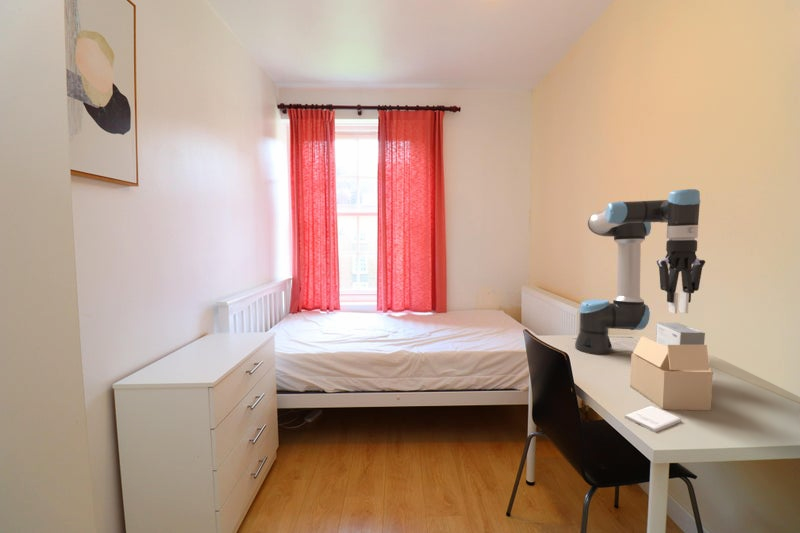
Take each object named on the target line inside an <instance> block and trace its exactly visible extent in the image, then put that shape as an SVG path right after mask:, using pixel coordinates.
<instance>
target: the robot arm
mask: <svg viewBox="0 0 800 533" xmlns="http://www.w3.org/2000/svg"><path fill="white" fill-rule="evenodd" d="M700 193H701V192H700V191H699V190H698V189H694V188H693V189H691V188H689V189H686V188H685V189H678V190H672V191H670V192H669V194H668V198H667V199H661V200H660V199H659V200H657V199H655V200H639V201H636V200H635V201H614V202H609V203H608V204H607V205H606V207H605V210H604V211H598V212H595V213H593V214H592V215H591V216H590V217H589V219H588V220H587V227H588V229H589V231H591V232H592V233H593V234H595V235H597V236H601V237H613V241H614V242H615V243H616V244H617V281H616V282H617V284H616V286H617V288H616V290H617V291H616V297H614V298H613V302H610V300H607V299H599V298H597V299H596V298H595V299H588V300H584V301H582V302H580V307H579V332H578V334H577V337H576V339H575V342H574V343H575V344H574V347H575V349H576V350H578V351H581V352H583V353H587V354H593V355H608V354H611V353H612V352H613V345H612V342H611V339H610V337H609V329H615V330H630V331H634V330H635V331H639V330H641V331H642V330H644V329H645V328H646V327H647V326H648V324H649V323H650V322H649V321H650V316H651V313H650V307H649V306H648V304H646V303H645V300H644V299H643V298H642V297H641V256H642V255H641V254H642V253H641V252H642V251H641V249H642V248H641V244H642V243H643V242H644V241H646V237H647V236H649V235H650V233H651V229H652V223H667V224H666V225H667V226H666V227H667V228H666V239H668V240H667V241H666V243H665V244H666V247H665V250H666V255H665V258H663V259H658V260H656V264H657V266H658V269H659V270H658V271H659V287H660V290H661V291H664V292H666V302H667V303H668V312H669V313H671V314H678V312H680V313H682V314H689V303H691V301H692V294H694V293H695V292H697V291H699V289H700V282H701V278H702V271H703V267H704V266H705V264H706V260H704V259H700V258H698V256H697V255H696V252H697V251H698V240H697V239H698V236H699V219H700V218H699V216H700V205H701V198H700V197H701V196H700V195H701V194H700ZM680 275H681V285H682V291H679V293H678V292H676V291H677V285H678V280H679V276H680ZM678 302H679V305H678Z"/></svg>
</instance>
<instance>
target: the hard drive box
mask: <svg viewBox="0 0 800 533" xmlns="http://www.w3.org/2000/svg"><path fill="white" fill-rule="evenodd" d="M705 337H706V332H703V331H701V330H698V329H696V328H693V327H690V326H687V325H684V324H682V323H680V322H665V321H663V322H662V321H661V322H660V321H657V322H656V335H655V342H657V343H659V344H661V345H663V346H666V347H667V345H705V339H706V338H705Z"/></svg>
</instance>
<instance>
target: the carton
mask: <svg viewBox="0 0 800 533" xmlns="http://www.w3.org/2000/svg"><path fill="white" fill-rule="evenodd" d="M630 360H631V361H630V382H629V383H630V384H629V386H630V388H632V389H633V390H634V391H636V392H637V393H639V394H640V395H641V396H643V397H644V398H646V399H647V400H649V401H650V402H652V404H654V405H655V406H657V407H658V408H659V409H660V410H670V411H671V410H672V411H673V410H674V411H675V410H676V411H677V410H678V411H679V410H681V411H683V410H684V411H685V410H686V411H687V410H688V411H690V410H691V411H693V410H694V411H711V408H712V394H713V378H714V376H713V375H714V374H713V373H714V372H713V371H712V370H713V369H712V368H710V367H709V369H710V370H670V367H669V357H668V355H667V357H666V359H665V361H664V363H663V364H662V366H661V368H660V367H658V366H656V365H655V364H653V363H651V362H649V361H647V360H645V359H643V358H642V357H640V356H638V355H636V354H634V353H631V358H630Z"/></svg>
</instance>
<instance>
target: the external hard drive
mask: <svg viewBox="0 0 800 533" xmlns="http://www.w3.org/2000/svg"><path fill="white" fill-rule="evenodd" d="M624 419H626V420H628V421H630V422H631V423H634V424H637V425H638V426H641V427H642V428H645V429H646V430H649V431H651V432H653V433H657V432H658V431H659V432H660V431H662V430H664V429H667V428H669V427H671V426H673V425H676V424H678V423H681V422H682V418H680V417H679V416H677V415H674V414H672V413H669V412H667V411H665V410H663V409H661V408H659V407H658V408H657V407H656V406H652V405H650V406H648V407H647V406H646V407H644V408H642V409H638V410H636V411H633V412H631V413H630V412H629V413H628V414H625V415H624Z"/></svg>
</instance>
